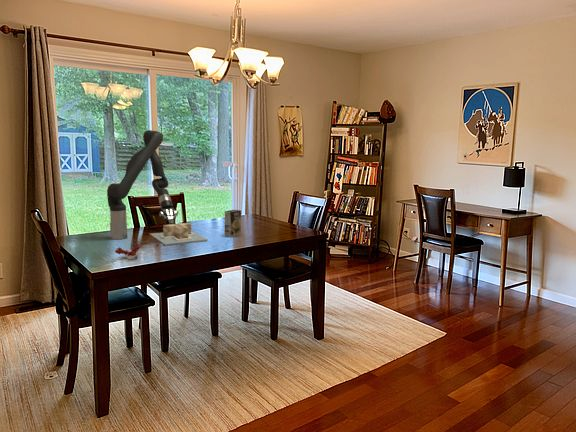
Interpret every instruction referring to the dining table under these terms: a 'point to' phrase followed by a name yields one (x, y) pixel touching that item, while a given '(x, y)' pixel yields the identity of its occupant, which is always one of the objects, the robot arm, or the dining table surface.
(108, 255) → the dining table surface
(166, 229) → the t block
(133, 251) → the figurine
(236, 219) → the coffee box
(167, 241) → the board
